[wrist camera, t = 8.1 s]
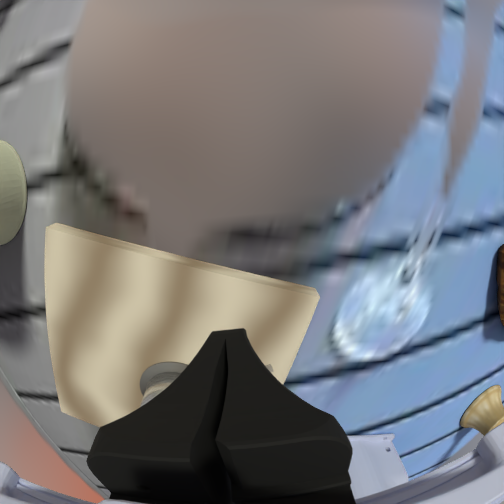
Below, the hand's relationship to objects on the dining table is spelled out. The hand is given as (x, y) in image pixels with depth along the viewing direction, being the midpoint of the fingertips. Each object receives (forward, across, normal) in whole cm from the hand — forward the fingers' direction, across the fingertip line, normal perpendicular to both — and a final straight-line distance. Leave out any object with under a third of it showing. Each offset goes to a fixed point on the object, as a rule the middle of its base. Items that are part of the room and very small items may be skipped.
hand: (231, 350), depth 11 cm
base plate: (+9, +8, +8) cm, 14 cm away
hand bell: (+10, -32, +27) cm, 43 cm away
